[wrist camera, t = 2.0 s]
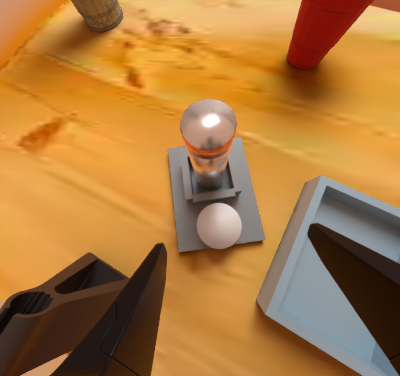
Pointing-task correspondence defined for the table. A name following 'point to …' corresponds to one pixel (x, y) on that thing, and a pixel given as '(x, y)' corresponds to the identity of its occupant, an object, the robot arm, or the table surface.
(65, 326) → the phone stand
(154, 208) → the table surface
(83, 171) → the table surface
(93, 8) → the thermos
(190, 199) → the plate
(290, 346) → the table surface
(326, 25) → the plastic cup
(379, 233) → the tray
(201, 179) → the salt shaker
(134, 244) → the table surface
